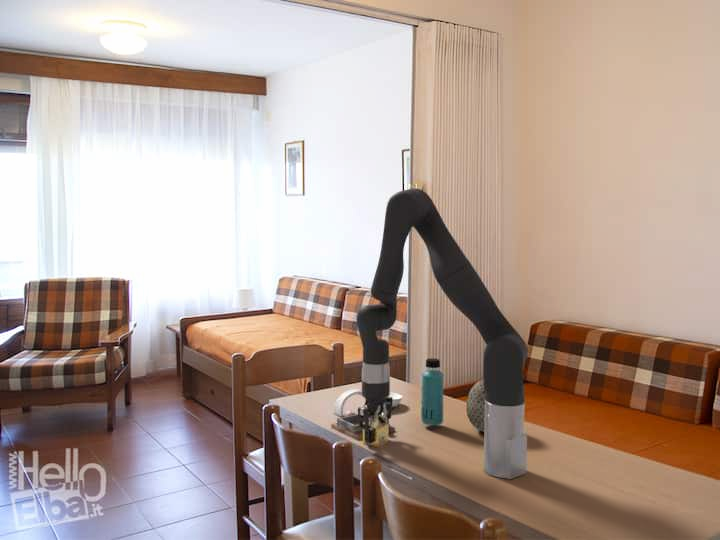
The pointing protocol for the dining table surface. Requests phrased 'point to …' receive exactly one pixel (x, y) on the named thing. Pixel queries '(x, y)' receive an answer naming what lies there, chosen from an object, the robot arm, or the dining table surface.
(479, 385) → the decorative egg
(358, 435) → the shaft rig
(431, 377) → the beverage bottle
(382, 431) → the yellow cube
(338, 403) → the spoon rest
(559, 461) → the dining table surface
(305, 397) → the dining table surface
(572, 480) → the dining table surface
